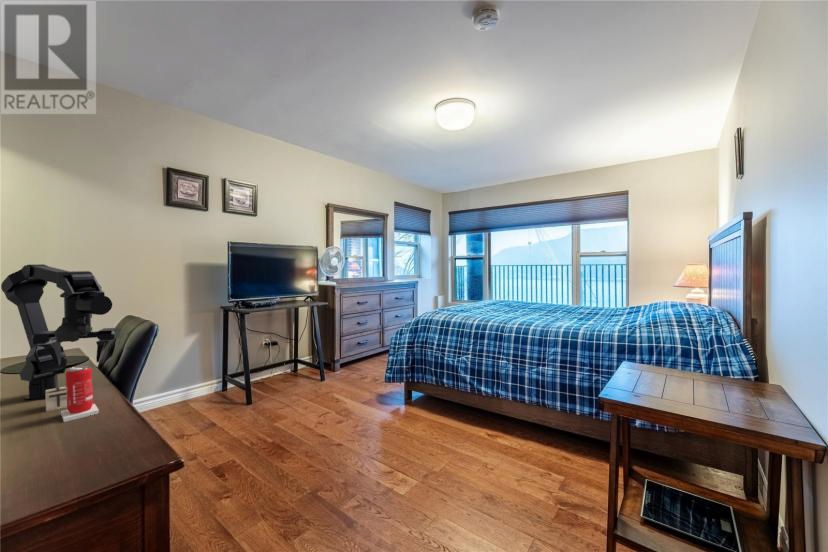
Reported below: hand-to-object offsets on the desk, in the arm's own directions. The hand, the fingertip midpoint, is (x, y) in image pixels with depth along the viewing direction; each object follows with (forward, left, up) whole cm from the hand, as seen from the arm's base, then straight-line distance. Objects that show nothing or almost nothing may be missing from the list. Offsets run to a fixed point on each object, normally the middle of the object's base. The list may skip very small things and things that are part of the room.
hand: (78, 363), depth 106 cm
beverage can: (+10, +7, -11) cm, 16 cm away
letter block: (+3, -4, -12) cm, 13 cm away
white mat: (+10, +7, -12) cm, 17 cm away
